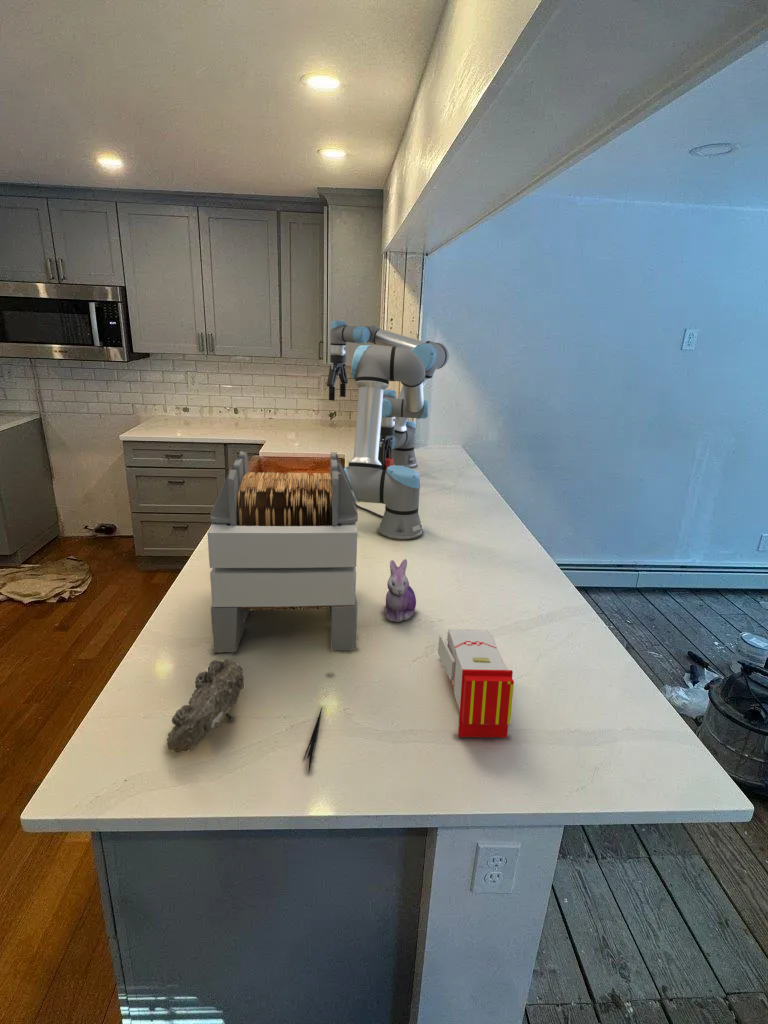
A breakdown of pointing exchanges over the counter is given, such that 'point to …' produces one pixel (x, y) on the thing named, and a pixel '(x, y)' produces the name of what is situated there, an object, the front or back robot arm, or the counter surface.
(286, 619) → the counter surface
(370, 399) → the front robot arm
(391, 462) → the brick
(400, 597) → the figurine
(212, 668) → the fossil
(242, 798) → the counter surface
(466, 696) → the toy
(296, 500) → the grey record crate stand
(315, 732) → the feather
